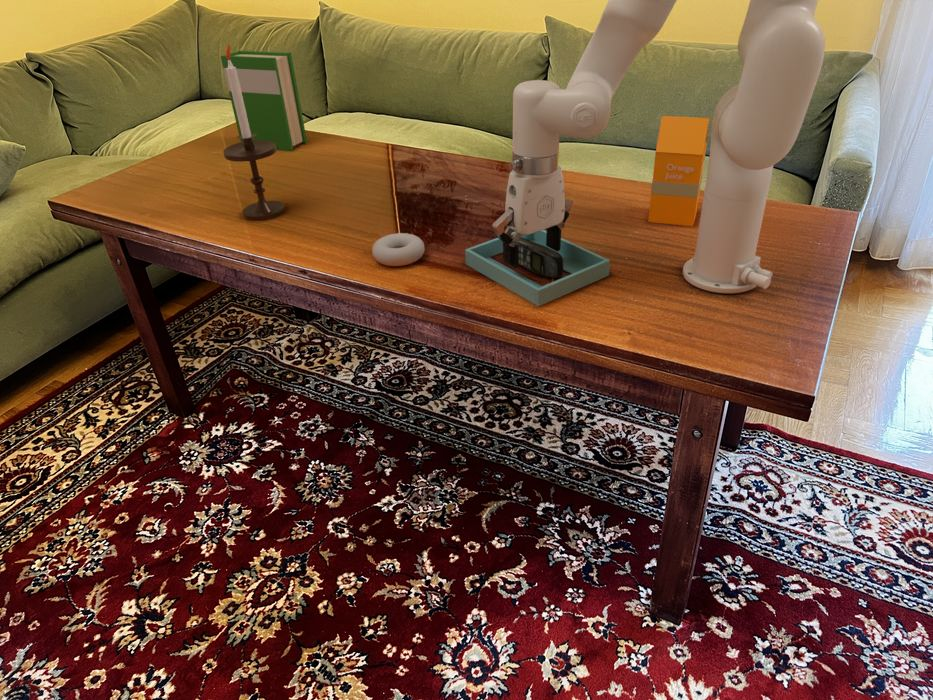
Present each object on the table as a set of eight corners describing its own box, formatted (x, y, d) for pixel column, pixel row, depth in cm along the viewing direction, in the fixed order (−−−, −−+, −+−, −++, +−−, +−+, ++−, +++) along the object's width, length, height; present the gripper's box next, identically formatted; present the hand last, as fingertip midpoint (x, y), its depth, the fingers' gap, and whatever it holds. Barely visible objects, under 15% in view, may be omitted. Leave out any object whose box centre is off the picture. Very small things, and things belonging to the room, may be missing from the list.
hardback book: (307, 142, 193) (290, 52, 180) (291, 150, 188) (273, 58, 174) (258, 137, 200) (238, 50, 186) (241, 145, 194) (220, 56, 181)
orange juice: (653, 207, 142) (664, 110, 131) (697, 211, 140) (712, 112, 128) (647, 222, 137) (658, 121, 125) (693, 226, 134) (708, 124, 122)
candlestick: (298, 206, 153) (265, 38, 134) (268, 224, 145) (227, 49, 126) (260, 200, 157) (222, 37, 138) (229, 218, 149) (184, 47, 130)
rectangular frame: (609, 275, 119) (610, 260, 117) (538, 306, 111) (538, 290, 110) (533, 238, 133) (533, 224, 131) (465, 264, 125) (464, 249, 124)
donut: (369, 251, 132) (378, 273, 124) (366, 235, 130) (375, 255, 122) (419, 243, 134) (431, 263, 126) (417, 227, 132) (429, 246, 124)
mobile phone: (499, 236, 123) (562, 259, 114) (511, 231, 125) (573, 253, 115) (500, 261, 126) (561, 285, 116) (512, 255, 128) (573, 279, 118)
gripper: (508, 180, 104) (508, 278, 114) (589, 156, 112) (582, 249, 122) (479, 167, 109) (481, 262, 119) (558, 145, 118) (554, 236, 127)
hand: (532, 256), depth 121 cm, fingers open, 9 cm apart
